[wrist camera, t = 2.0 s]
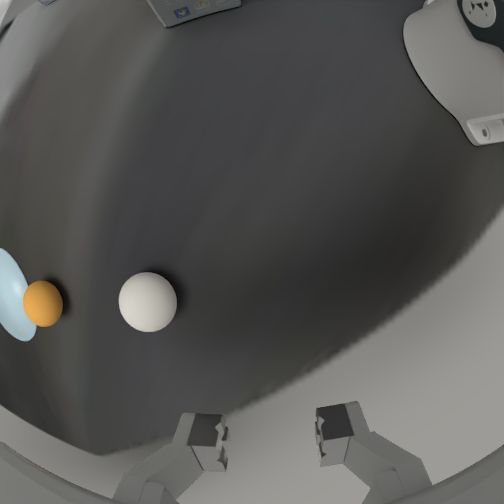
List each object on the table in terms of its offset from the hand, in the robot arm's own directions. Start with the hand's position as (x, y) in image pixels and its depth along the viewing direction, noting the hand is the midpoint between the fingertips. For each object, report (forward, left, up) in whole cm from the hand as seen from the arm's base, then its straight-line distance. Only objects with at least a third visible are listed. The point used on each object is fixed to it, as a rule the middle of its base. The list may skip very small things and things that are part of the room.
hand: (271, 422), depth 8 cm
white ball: (+10, 0, -13) cm, 16 cm away
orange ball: (+24, 0, -13) cm, 27 cm away
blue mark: (+36, 0, -15) cm, 39 cm away
